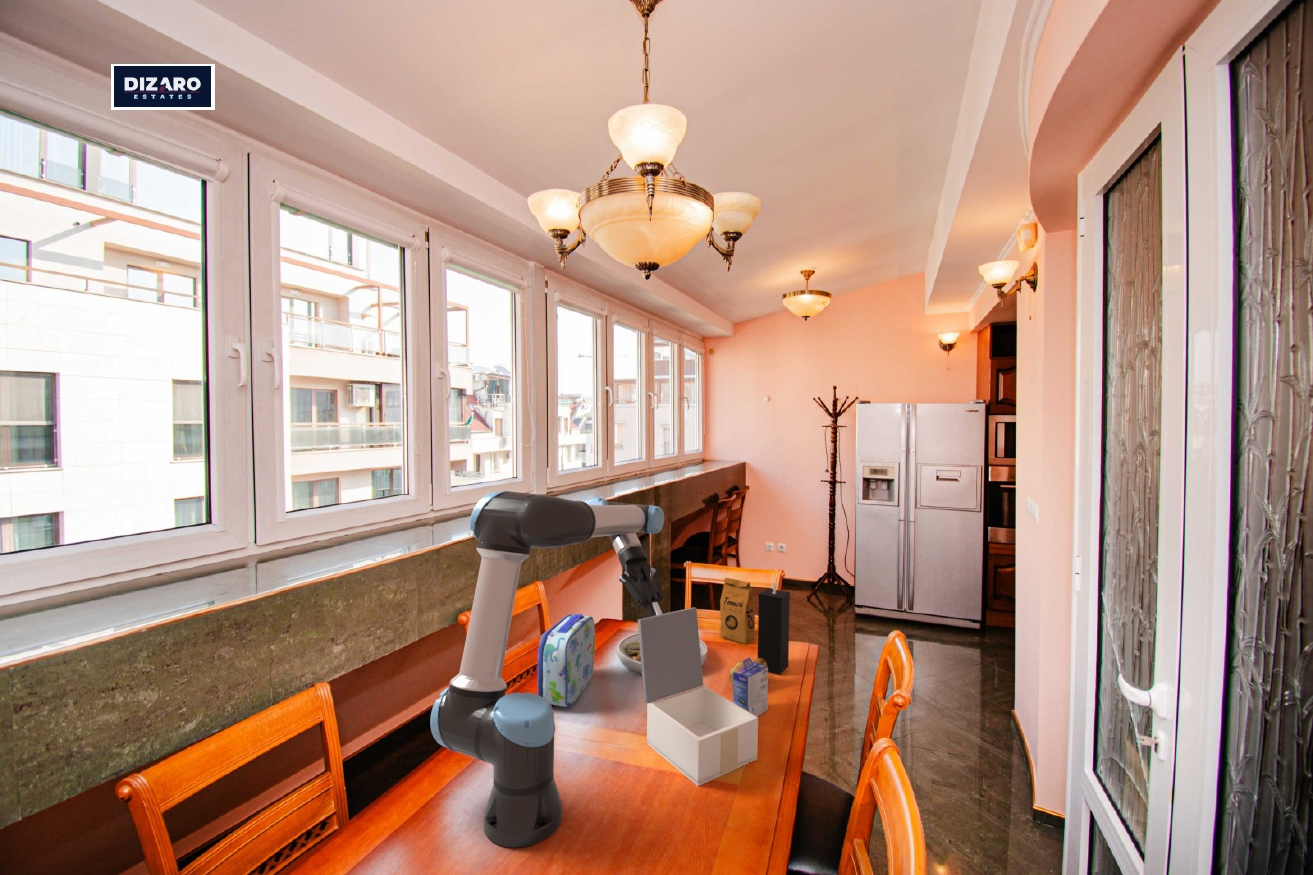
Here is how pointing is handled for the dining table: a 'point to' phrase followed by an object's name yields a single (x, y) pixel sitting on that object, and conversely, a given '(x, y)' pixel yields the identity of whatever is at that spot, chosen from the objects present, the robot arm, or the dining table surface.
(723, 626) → the coffee package
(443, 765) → the dining table surface
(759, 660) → the bread roll
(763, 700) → the ink cartridge box
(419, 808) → the dining table surface
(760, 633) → the black pillar candle
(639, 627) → the box lid
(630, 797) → the dining table surface
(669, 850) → the dining table surface
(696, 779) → the storage box
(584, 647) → the lunch box
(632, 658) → the bowl
